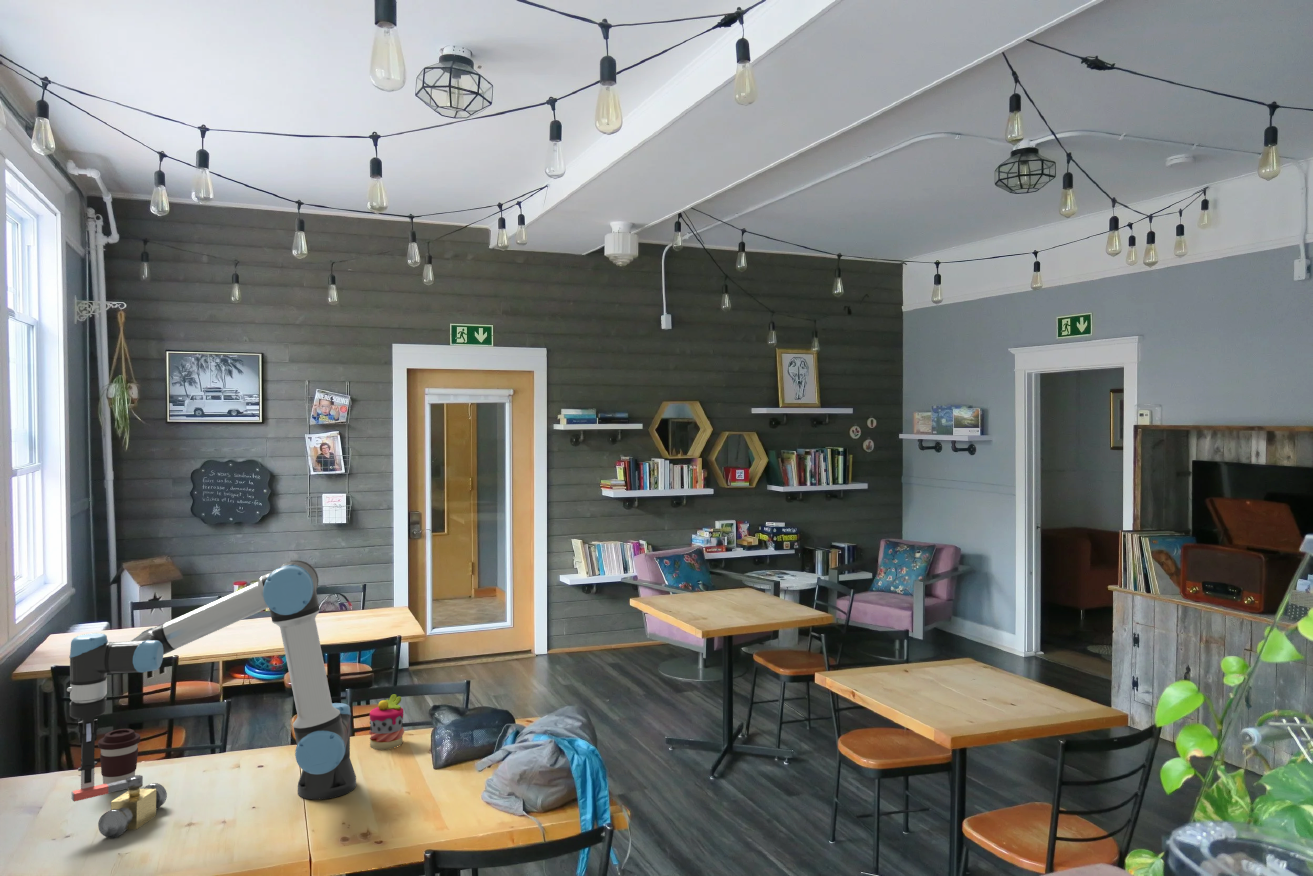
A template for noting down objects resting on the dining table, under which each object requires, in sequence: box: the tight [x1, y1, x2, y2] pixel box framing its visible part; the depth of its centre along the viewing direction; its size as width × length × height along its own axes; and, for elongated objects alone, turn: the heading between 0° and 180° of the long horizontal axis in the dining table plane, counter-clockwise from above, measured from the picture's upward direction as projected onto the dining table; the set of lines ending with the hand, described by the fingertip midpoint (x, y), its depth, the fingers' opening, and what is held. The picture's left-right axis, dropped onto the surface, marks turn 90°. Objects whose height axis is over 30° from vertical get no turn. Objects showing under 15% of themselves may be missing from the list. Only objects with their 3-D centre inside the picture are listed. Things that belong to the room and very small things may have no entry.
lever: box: [71, 774, 144, 802], centre depth 210 cm, size 15×4×2 cm, turn 133°
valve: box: [97, 782, 168, 839], centre depth 214 cm, size 20×6×9 cm, turn 179°
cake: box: [368, 694, 405, 751], centre depth 271 cm, size 10×11×15 cm
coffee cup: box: [97, 728, 141, 792], centre depth 236 cm, size 10×10×15 cm
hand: (87, 794), depth 209 cm, fingers closed
